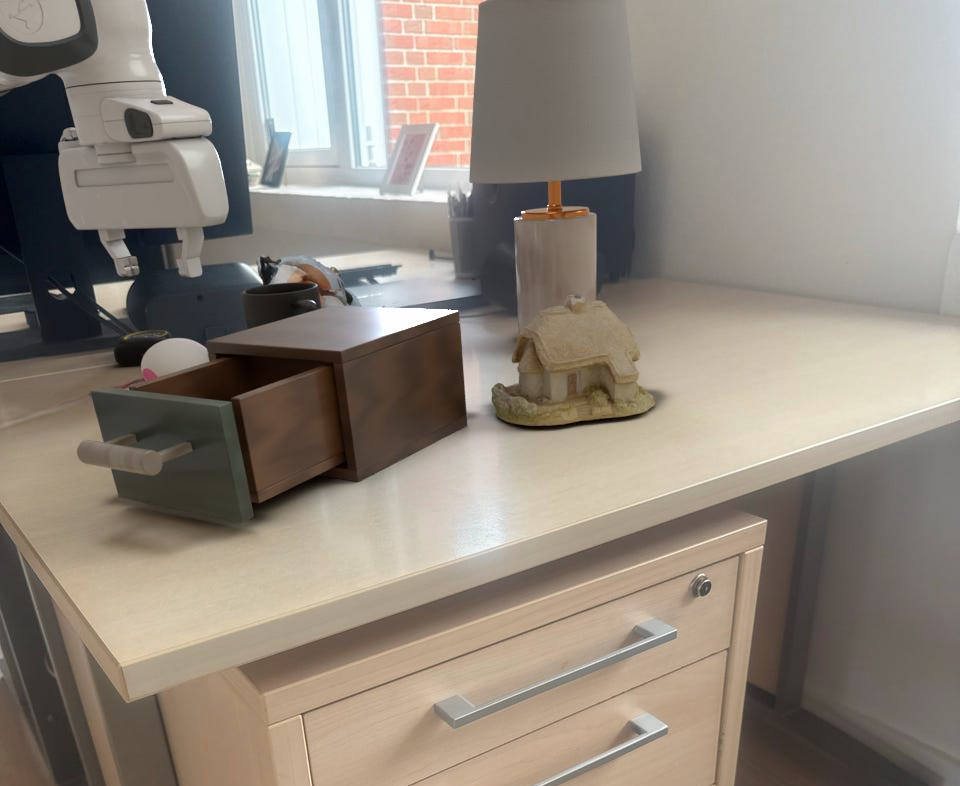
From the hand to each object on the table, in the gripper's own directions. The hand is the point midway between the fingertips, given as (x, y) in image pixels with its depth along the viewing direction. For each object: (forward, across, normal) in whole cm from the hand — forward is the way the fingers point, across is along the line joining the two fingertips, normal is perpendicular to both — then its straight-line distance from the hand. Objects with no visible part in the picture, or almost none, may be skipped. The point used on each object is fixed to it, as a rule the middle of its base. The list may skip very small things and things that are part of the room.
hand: (159, 276), depth 93 cm
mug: (+12, +10, +8) cm, 17 cm away
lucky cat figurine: (+12, +1, +23) cm, 26 cm away
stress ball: (+12, 0, 0) cm, 12 cm away
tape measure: (+12, -14, +8) cm, 20 cm away
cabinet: (+12, +30, -8) cm, 33 cm away
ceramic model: (+12, +44, +7) cm, 46 cm away
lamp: (+13, +29, +33) cm, 45 cm away
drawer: (+11, +30, -23) cm, 39 cm away
